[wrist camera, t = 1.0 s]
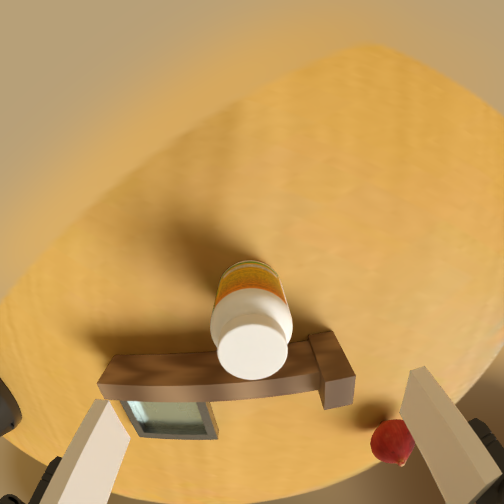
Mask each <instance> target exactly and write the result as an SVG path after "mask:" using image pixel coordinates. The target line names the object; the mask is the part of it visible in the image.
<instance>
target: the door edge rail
mask: <svg viewBox="0 0 504 504" xmlns="http://www.w3.org/2000/svg"><path fill="white" fill-rule="evenodd" d="M287 347H288V354H287V358H286V361H285V363H284V364H283V366H282V367H281V368H280V369H279V370H278V371H277V372H275V373H274V374H272V375H271V376H268V377H266V378H262V379H256V380H248V379H242V378H238V377H236V376H234V375H232V374H230V373H229V372H227V371H226V370H225V369H224V368H223V366H222V365H221V363H220V362H219V359H218V355H217V351H213V352H198V353H181V354H155V355H115V356H114V357H113V359H112V360H111V362H110V363H109V365H108V366H107V368H106V369H105V371H104V373H103V374H102V376H101V377H100V379H99V381H98V382H97V385H98V387H99V389H100V391H101V393H102V395H103V397H104V399H109V400H122V401H138V402H214V401H231V400H244V399H255V398H265V397H273V396H281V395H289V394H295V393H302V392H308V391H314V390H318V392H319V395H320V398H321V401H322V404H323V408H324V410H327V409H332V408H337V407H341V406H346V405H350V404H353V396H354V387H355V378H356V375H355V373H354V371H353V369H352V367H351V365H350V364H349V362H348V360H347V358H346V356H345V354H344V352H343V350H342V348H341V346H340V344H339V342H338V340H337V338H336V336H335V334H334V332H333V331H330V332H324V333H318V334H312V335H308V340H307V341H301V342H294V343H288V344H287Z"/></svg>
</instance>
